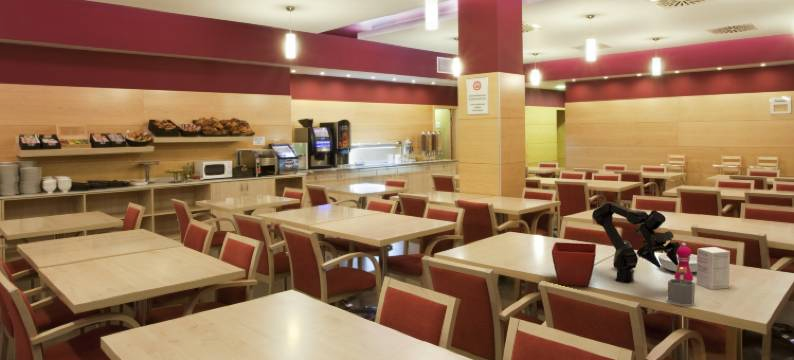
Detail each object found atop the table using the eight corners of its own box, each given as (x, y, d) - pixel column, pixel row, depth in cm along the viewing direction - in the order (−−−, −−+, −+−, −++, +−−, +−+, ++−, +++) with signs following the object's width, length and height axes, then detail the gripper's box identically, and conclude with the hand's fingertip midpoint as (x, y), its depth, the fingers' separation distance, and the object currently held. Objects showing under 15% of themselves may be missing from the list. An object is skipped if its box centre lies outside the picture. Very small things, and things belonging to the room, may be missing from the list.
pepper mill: (695, 289, 234) (695, 244, 233) (677, 288, 235) (677, 244, 234) (689, 285, 241) (689, 241, 240) (672, 284, 242) (672, 241, 242)
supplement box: (714, 282, 245) (715, 246, 243) (729, 288, 235) (731, 251, 234) (695, 283, 243) (696, 247, 241) (710, 289, 234) (712, 252, 232)
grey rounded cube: (664, 302, 219) (664, 282, 218) (671, 296, 226) (672, 277, 225) (690, 307, 212) (691, 287, 211) (697, 301, 219) (698, 281, 218)
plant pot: (551, 286, 245) (551, 250, 243) (554, 275, 263) (555, 241, 261) (595, 290, 238) (595, 253, 236) (596, 278, 256) (596, 244, 254)
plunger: (669, 286, 218) (669, 267, 217) (674, 282, 223) (675, 264, 223) (688, 290, 213) (688, 270, 213) (693, 286, 218) (694, 267, 218)
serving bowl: (659, 274, 259) (660, 260, 258) (656, 264, 278) (656, 251, 277) (708, 278, 251) (709, 264, 250) (701, 267, 270) (702, 253, 270)
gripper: (642, 226, 225) (661, 258, 216) (677, 223, 230) (697, 253, 221) (628, 241, 233) (646, 272, 224) (663, 237, 239) (682, 267, 229)
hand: (668, 266), depth 224 cm, fingers open, 9 cm apart
